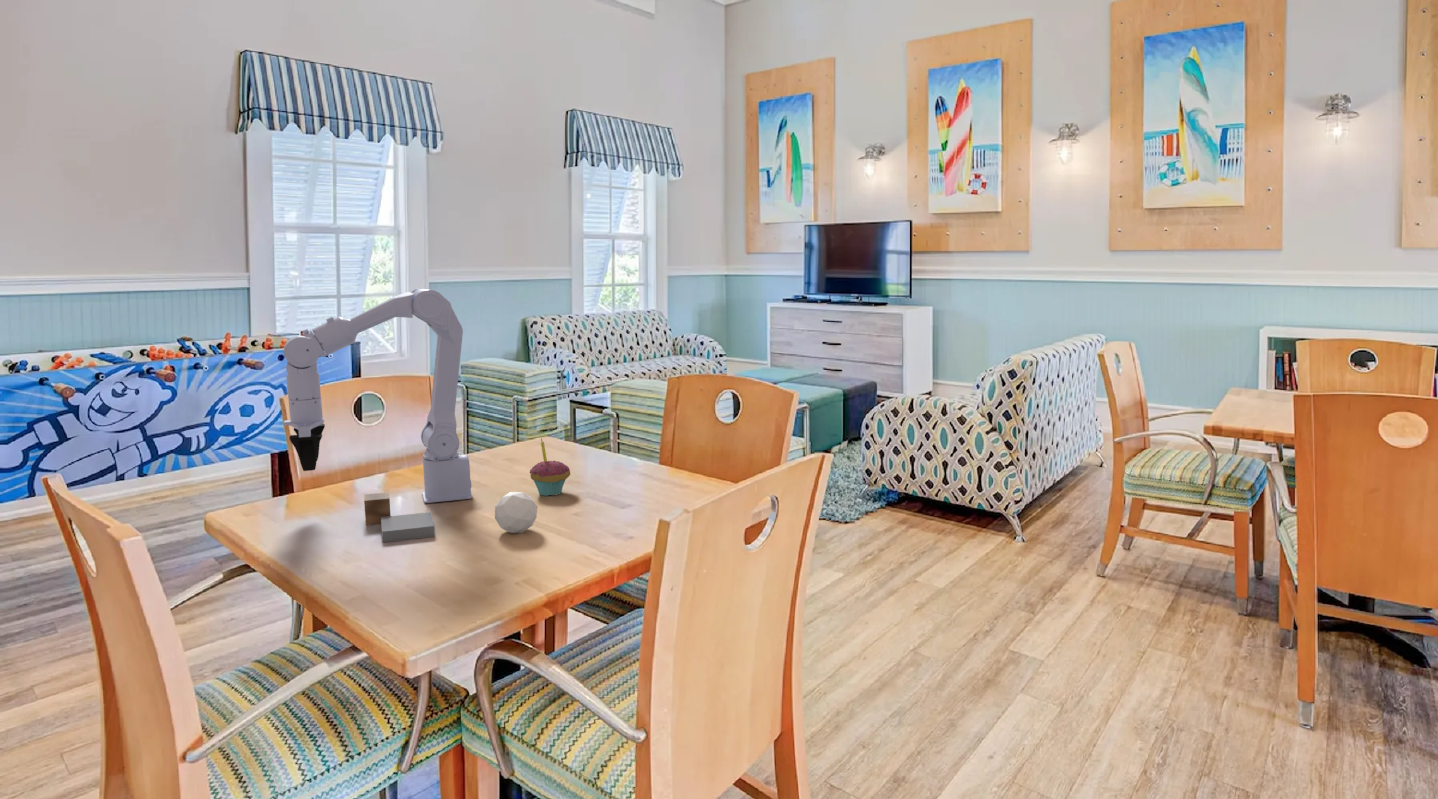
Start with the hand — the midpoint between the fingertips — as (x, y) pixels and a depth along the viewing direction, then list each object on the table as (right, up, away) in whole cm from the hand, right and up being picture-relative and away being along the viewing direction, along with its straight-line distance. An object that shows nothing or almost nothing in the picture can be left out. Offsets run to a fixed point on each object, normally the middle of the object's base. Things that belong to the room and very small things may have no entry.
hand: (310, 465), depth 170 cm
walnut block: (+14, -11, -3) cm, 18 cm away
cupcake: (+44, -7, +17) cm, 48 cm away
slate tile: (+22, -12, -9) cm, 27 cm away
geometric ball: (+43, -12, -8) cm, 45 cm away
